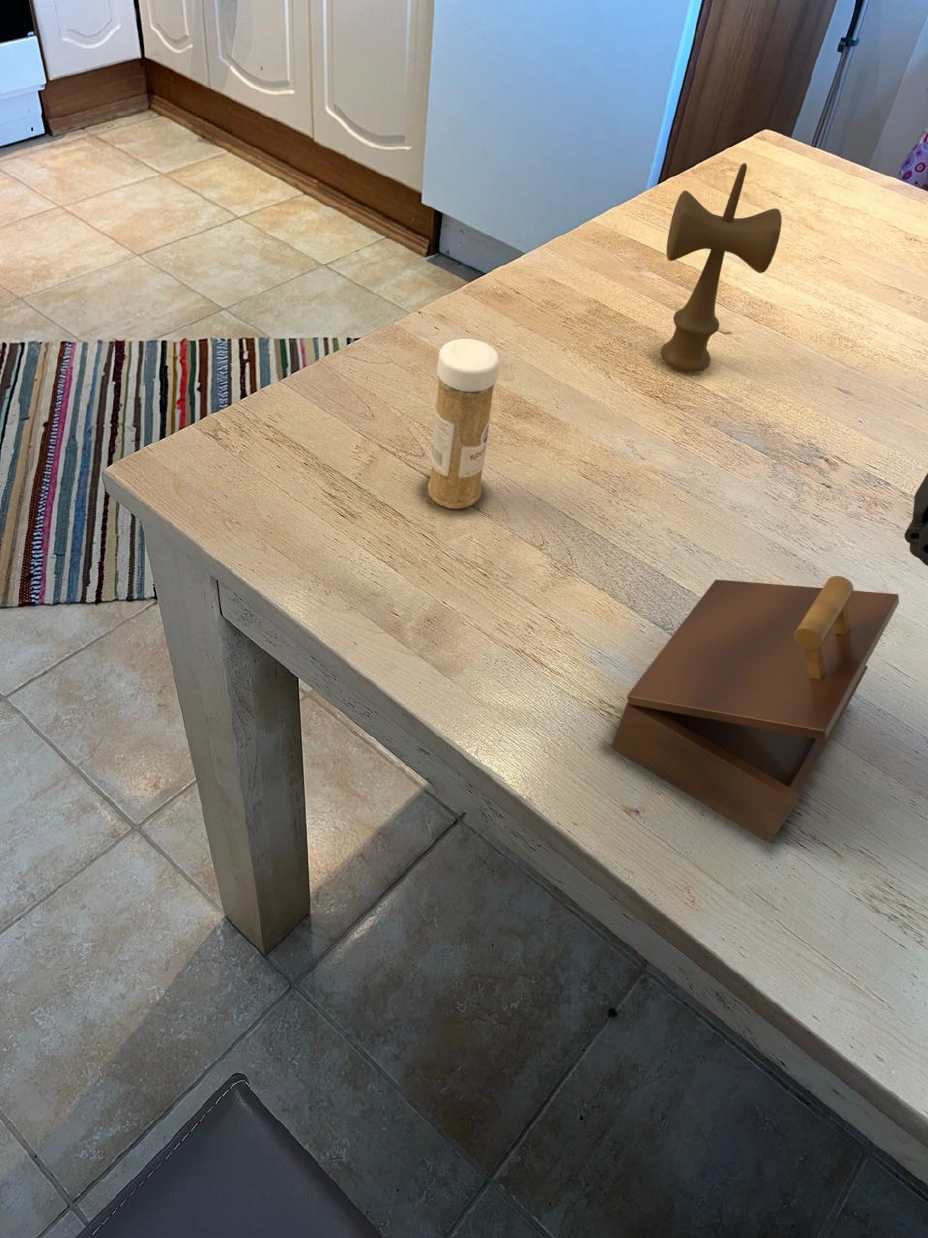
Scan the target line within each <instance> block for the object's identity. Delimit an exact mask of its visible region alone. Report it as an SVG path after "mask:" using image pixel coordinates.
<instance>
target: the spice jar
mask: <svg viewBox="0 0 928 1238" xmlns="http://www.w3.org/2000/svg"><path fill="white" fill-rule="evenodd" d="M438 353H439V354H438V358H437V370H436V374H437V378H438V383H437V394H436V396H437V397H436V404H435V409H434V420H433V430H432V431H433V432H432V444H431V456H430V462H431V468H430V477H429V481H428V485H427V492H428V495H429V497H430V498H431V499H432V500H433V501H434V502H435V503H436V504H438V505H440V506H442V507H445V508H448V509H455V510H457V509H458V510H459V509H465V508H469V507H471V506H473V505H475V503H477V501H478V500H479V499H480V497H481V494H482V487H481V484H482V475H483V469H484V465H485V460H486V459H485V458H486V451H487V444H488V443H487V442H488V436H489V429H490V428H489V427H490V422H491V421H490V420H491V417H490V415H491V409H492V402H493V393H494V387H495V385H496V383H497V380H498V377H499V370H500V355H499V353H498V351H497V350H496V349H495V348H494V347H493V346H492V345H490V344H488V343H486V342H484V341H481V340H477V339H471V338H459V339H454V340H451V341H449V342H446V343H445V344H444V345H443V346H442V347H441V348H440V350H439V352H438Z"/></svg>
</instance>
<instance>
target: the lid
mask: <svg viewBox="0 0 928 1238" xmlns="http://www.w3.org/2000/svg"><path fill="white" fill-rule="evenodd" d="M899 604H900V597H899V594H898V593H890V592H889V593H888V592H875V591H863V590H854V585H853V583H852V581H851V580H849V579H848V578H847V577H845V576H842V575H834V576H831V577H830V578H828V579H827V581H826V582H825V584H824V585H823V587H815V586H814V587H813V586H803V585H802V586H801V585H791V584H776V583H766V582H765V583H764V582H754V581H753V582H752V581H742V580H741V581H739V580H726V579H725V580H724V579H714V581H713V582H712V584H710V586H709V587H708V589H707V590H706V591H705V592H704V594H703V595H702V597H701V598H700V599H699V600H698V602H697V603H696V604H695V606H694V607H693V608H692V610H691V611H690V612H689V614H688V615H687V616H686V618H685V619H684V620H683V622H682V623H681V624H680V626H679V627H678V628H677V629H676V631H675V632H674V633H673V634H672V636H671V637H670V638H669V640H668V641H667V642H666V644H665V645H664V646H663V648H662V649H661V650H660V652H659V653H658V655H657V656H656V657H655V658H654V660H653V661H652V662H651V663H650V664H649V666H648V667H647V669H646V670H645V671H644V673H643V674H642V675H641V677H640V678H639V679H638V681H637V682H636V683H635V685H634V686H633V688H631V690H630V691H629V693H628V694H627V696H626V698H627V703H628V702H629V704H631V705H636V706H642V707H647V708H653V709H658V710H664V711H669V712H675V713H680V714H686V715H691V716H697V717H702V718H708V719H713V720H719V721H724V722H730V723H735V724H741V725H746V726H752V727H757V728H763V729H768V730H774V731H779V732H785V733H790V734H796V735H801V736H807V737H812V738H818V739H823V740H826V739H827V737H828V735H829V733H830V731H831V729H832V727H833V726H834V724H835V722H836V720H837V718H838V716H839V714H840V712H841V711H842V709H843V707H844V705H845V703H846V701H847V699H848V697H849V696H850V694H851V692H852V690H853V688H854V686H855V684H856V682H857V681H858V679H859V677H860V675H861V673H862V671H863V669H864V667H865V666H867V664H868V662H869V660H870V658H871V656H872V655H873V652H874V651H875V649H876V647H877V645H878V643H879V641H880V639H881V637H882V636H883V634H884V632H885V630H886V627H887V626H888V624H889V623H890V621H891V619H892V617H893V615H894V613H895V612H896V609H897V608H898V605H899Z"/></svg>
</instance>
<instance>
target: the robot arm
mask: <svg viewBox="0 0 928 1238" xmlns="http://www.w3.org/2000/svg"><path fill="white" fill-rule="evenodd" d="M913 500H914V501H913V508H912V509H913V510H912V518H911V519H912V520H911V521H910V523H909V525H908V526H907V528H906V530H905V532H904V536H903V537H904V539H905V541H906V542H907V543H908V544H909V548H908V549H909V552H910V554H911V555H912V556H914V557H915V558H917V559H918V560H920V561H921V563H922V564H923V565H925V566H926V567H928V472H927V473H926V475H925V476H924V477H923V480H922V482H921V484H920V485H919V486H918V489H917V490H916V491H915V494H914V499H913Z"/></svg>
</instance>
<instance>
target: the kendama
mask: <svg viewBox="0 0 928 1238" xmlns="http://www.w3.org/2000/svg"><path fill="white" fill-rule="evenodd" d="M747 170H748V165H747V163H746V162H743V163H741V165H740V166H739V169H738V172H737V174H736V177H735V179H734V182H733V185H732V188H731V191H730V194H729V197H728V200H727V203H726V206H725V209H724V212H723V214H722V215H717V214H714V213H712V212H710V211H709V210H708V209H706V208H705V206H703V205H702V204H701V203H700V202H699V200H697V199H696V197H695V196H694V195H692V193H691V192H689V191H688V190H683V191H682V192H681V193H680V194H679V196H678V199H677V201H676V204H675V206H674V209H673V213H672V216H671V221H670V225H669V230H668V236H667V241H666V259H667V261H670V262H673V261H676V260H679V259H681V258H683V257H685V256H687V255H690V254H692V253H694V252H697V251H700V250H710V251H709V253H708V256H707V259H706V261H705V264H704V266H703V269H702V271H701V274H700V275H699V278H698V281H697V282H696V284H695V287H694V289H693V291H692V293H691V295H690V297H689V298H688V300H687V302H686V304H685V306H683V307H682V308H680V309H678V310H677V311H676V312H675V313H674V315H673V318H672V319H673V323H674V326H675V330H674V332H673V335H672V337H671V338H670V340H669V341H667V342H666V343H663V345H662V346H661V349H660V356H661V359H662V361H663V362H664V363H665V364H666V365H667V366H668V367H670V368H672V369H674V370H677V371H680V372H684V373H698V372H703V371H705V370H706V369H708V368H709V367H710V364H711V361H712V358H711V355H710V353H709V350H707V349H708V347H707V346H708V343H709V340H710V338H711V336H713V335H714V334H715V333H717V332H719V329H720V322H719V319H718V318H717V317H716V312H715V311H716V303H717V302H716V301H717V295H718V288H719V282H720V278H721V272H722V267H723V262H724V259H725V254H726V253H729V254H732V255H735V256H736V257H738V258H739V259H740V260H742V261H743V262H744V263H745V264H746V265H748V267H750V268H751V269H752V270H753V271H754V272H756V273H757V274H764V273H765V272H766V271H767V270H768V269H769V267H770V266H771V263H772V261H773V258H774V256H775V253H776V251H777V247H778V244H779V241H780V236H781V231H782V219H783V217H782V213H781V210H780V209H779V208H778V207H777V208H776V207H775V208H771V209H767V210H764V211H762V212H759V213H757V214H754V215H751V216H746V217H737V218H735V215H736V212H737V207H738V203H739V200H740V197H741V193H742V190H743V186H744V182H745V179H746V174H747Z"/></svg>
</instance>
